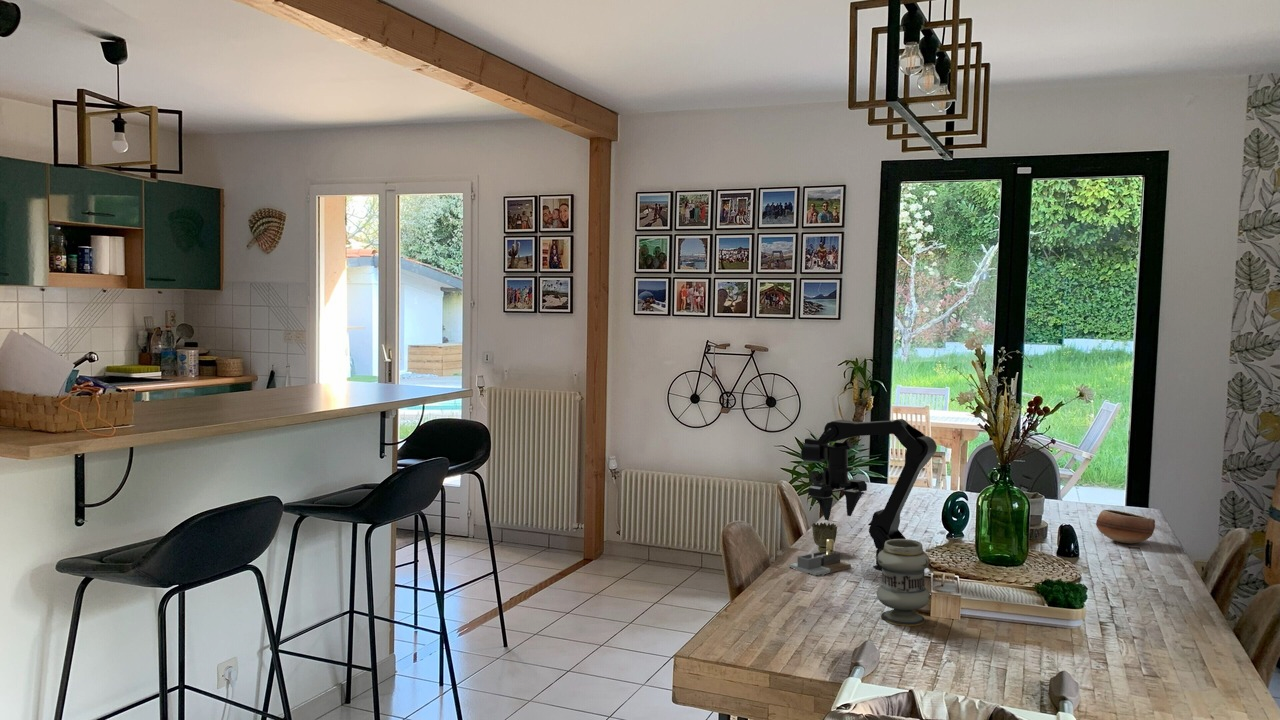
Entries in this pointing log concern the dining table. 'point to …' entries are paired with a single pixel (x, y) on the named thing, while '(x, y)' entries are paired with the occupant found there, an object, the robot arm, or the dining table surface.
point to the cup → (823, 534)
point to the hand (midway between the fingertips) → (838, 518)
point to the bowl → (1125, 526)
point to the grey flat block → (833, 562)
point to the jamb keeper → (810, 565)
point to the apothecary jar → (903, 581)
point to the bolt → (827, 549)
